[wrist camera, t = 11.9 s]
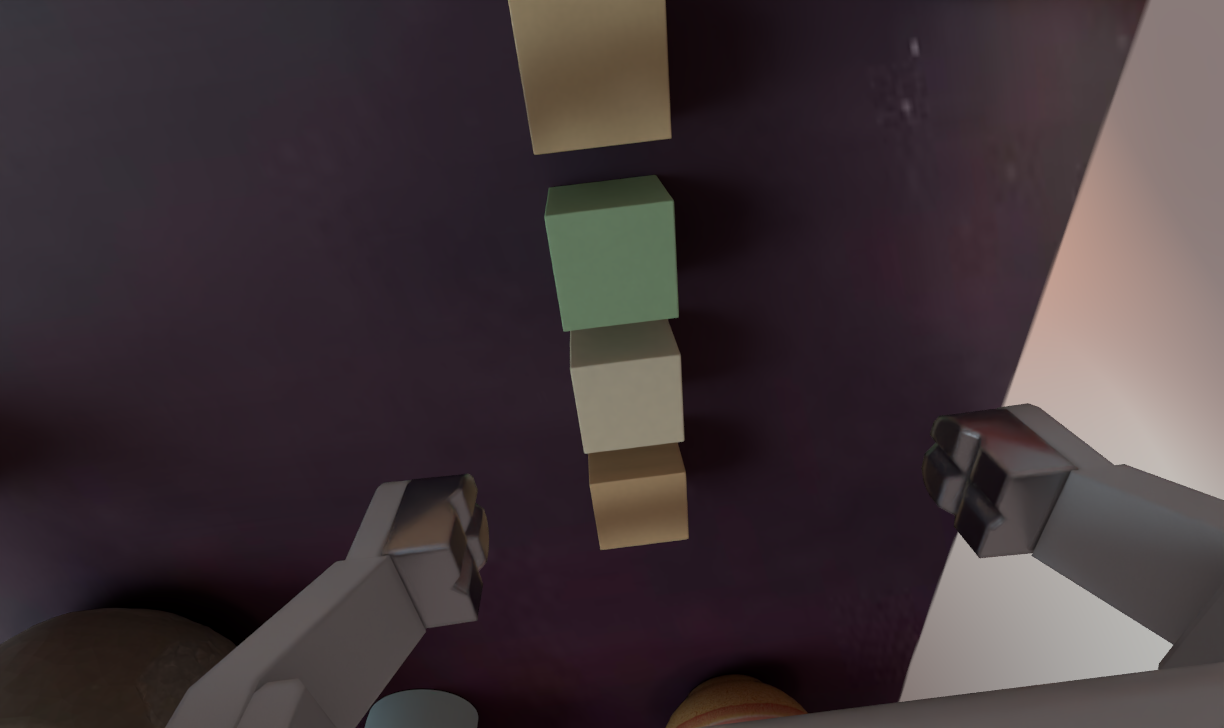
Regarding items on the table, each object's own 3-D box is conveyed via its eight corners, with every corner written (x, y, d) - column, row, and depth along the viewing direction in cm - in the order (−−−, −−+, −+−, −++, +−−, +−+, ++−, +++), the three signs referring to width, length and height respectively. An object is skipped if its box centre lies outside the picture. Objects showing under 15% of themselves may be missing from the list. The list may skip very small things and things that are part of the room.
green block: (548, 187, 24) (544, 215, 20) (655, 174, 24) (674, 200, 20) (564, 287, 27) (563, 332, 23) (661, 276, 27) (679, 318, 23)
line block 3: (586, 425, 32) (589, 484, 27) (670, 415, 32) (686, 472, 27) (596, 487, 34) (600, 550, 30) (673, 478, 34) (688, 539, 30)
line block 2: (569, 319, 28) (570, 368, 24) (663, 308, 28) (681, 354, 24) (582, 398, 30) (584, 454, 26) (668, 387, 31) (684, 442, 26)
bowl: (301, 595, 37) (220, 758, 29) (278, 724, 45) (209, 883, 37) (5, 545, 33) (-193, 718, 24) (37, 697, 41) (-104, 868, 32)
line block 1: (518, 0, 21) (505, -14, 17) (645, -15, 21) (664, -33, 17) (540, 136, 23) (533, 155, 19) (653, 123, 23) (671, 138, 19)
